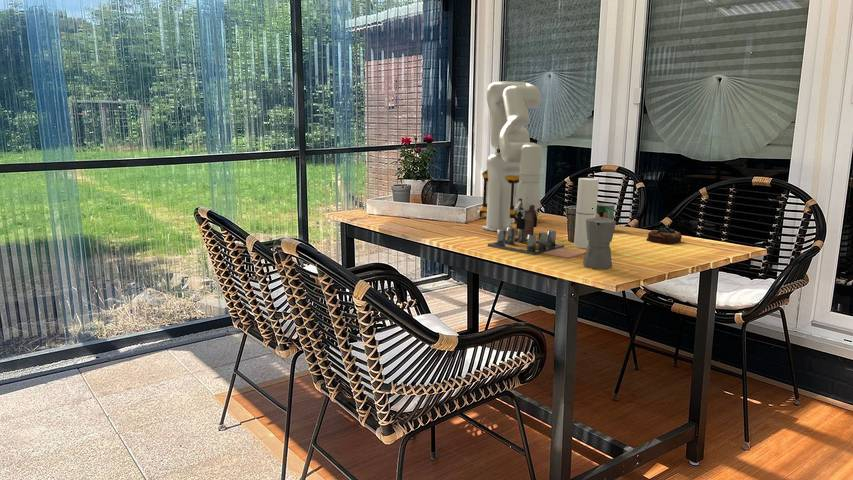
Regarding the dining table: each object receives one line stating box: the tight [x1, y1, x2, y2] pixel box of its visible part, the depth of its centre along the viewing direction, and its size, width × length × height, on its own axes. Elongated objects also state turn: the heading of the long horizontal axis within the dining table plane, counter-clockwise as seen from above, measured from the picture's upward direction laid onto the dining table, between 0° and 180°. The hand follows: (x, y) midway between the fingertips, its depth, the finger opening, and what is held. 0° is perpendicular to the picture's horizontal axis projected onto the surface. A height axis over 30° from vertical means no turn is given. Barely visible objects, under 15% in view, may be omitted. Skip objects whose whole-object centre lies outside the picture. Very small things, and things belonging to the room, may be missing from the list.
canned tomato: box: [596, 202, 615, 220], centre depth 279 cm, size 8×8×11 cm
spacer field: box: [487, 226, 565, 256], centre depth 239 cm, size 20×20×6 cm
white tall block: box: [573, 177, 600, 249], centre depth 240 cm, size 7×7×25 cm
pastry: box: [646, 226, 683, 246], centre depth 257 cm, size 11×12×6 cm
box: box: [519, 205, 535, 239], centre depth 238 cm, size 6×4×12 cm
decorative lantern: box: [478, 169, 519, 219], centre depth 302 cm, size 20×20×30 cm
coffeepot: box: [582, 211, 617, 271], centre depth 210 cm, size 15×9×18 cm, turn 159°
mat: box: [542, 247, 586, 260], centre depth 229 cm, size 12×10×1 cm
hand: (526, 227), depth 239 cm, fingers closed on box, 7 cm apart
